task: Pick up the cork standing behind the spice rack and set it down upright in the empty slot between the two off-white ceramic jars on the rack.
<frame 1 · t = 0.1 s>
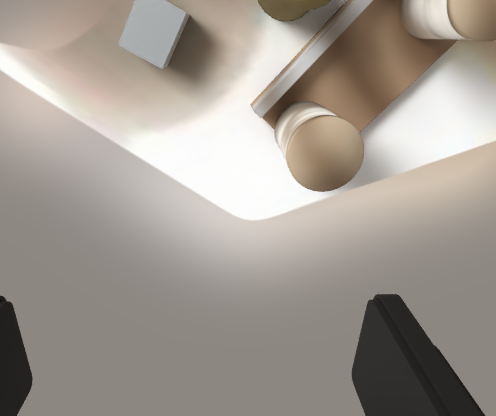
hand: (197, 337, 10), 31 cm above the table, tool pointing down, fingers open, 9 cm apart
rack: (355, 65, 37), on the table
grey rectangular block: (159, 29, 35), on the table
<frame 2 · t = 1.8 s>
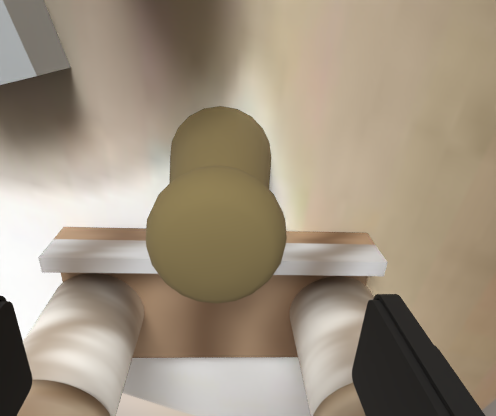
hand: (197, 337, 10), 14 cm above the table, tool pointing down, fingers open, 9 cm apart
cork: (221, 156, 22), on the table
rack: (218, 290, 26), on the table
grey rectangular block: (8, 37, 19), on the table
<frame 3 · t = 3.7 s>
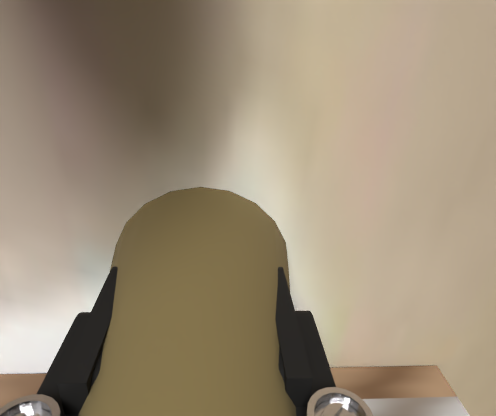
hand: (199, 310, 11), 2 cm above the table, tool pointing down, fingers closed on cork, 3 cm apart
cork: (203, 263, 13), on the table, touching gripper
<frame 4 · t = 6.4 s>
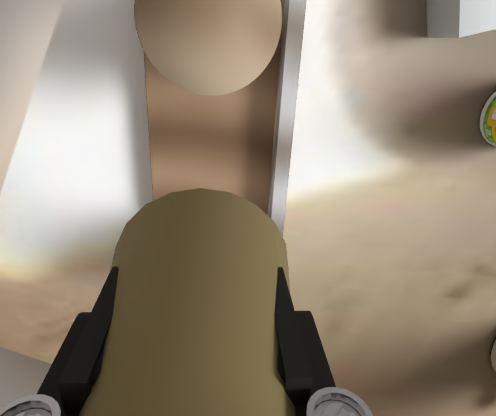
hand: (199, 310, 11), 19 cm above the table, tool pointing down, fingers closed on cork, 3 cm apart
cork: (203, 264, 13), point 17 cm above the table, touching gripper
rack: (219, 141, 28), on the table
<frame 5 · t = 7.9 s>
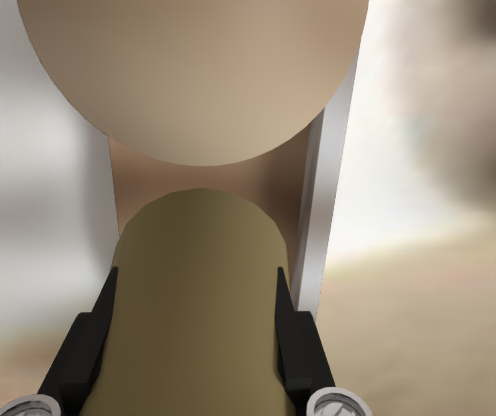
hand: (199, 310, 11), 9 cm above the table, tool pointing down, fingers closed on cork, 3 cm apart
cork: (203, 264, 13), point 7 cm above the table, touching gripper
rack: (220, 192, 19), on the table
when the fingers open (5 cm above the table, at t = 9.2 s): cork stays where it is, resting on rack.
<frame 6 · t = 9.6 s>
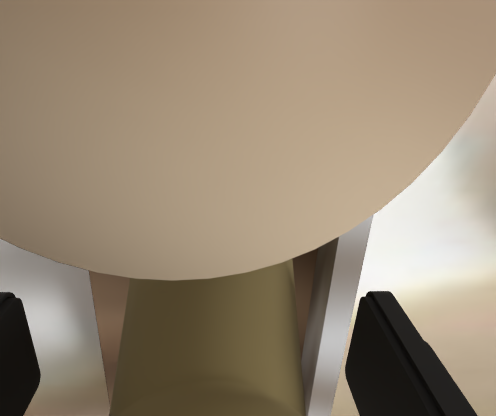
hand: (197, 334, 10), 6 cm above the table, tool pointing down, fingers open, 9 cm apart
cork: (214, 247, 15), point 1 cm above the table, touching rack
rack: (217, 227, 16), on the table
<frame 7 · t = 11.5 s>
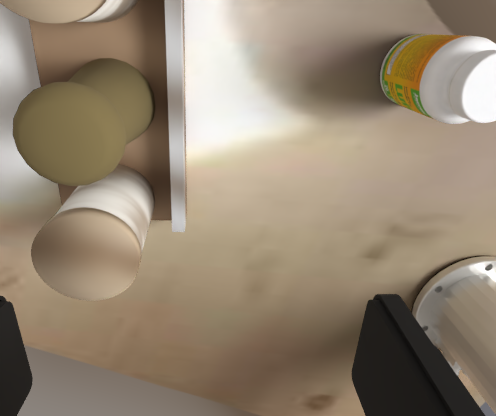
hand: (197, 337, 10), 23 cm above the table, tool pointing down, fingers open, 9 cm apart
cork: (114, 101, 27), point 1 cm above the table, touching rack
rack: (119, 95, 28), on the table
supplement bottle: (409, 70, 30), on the table
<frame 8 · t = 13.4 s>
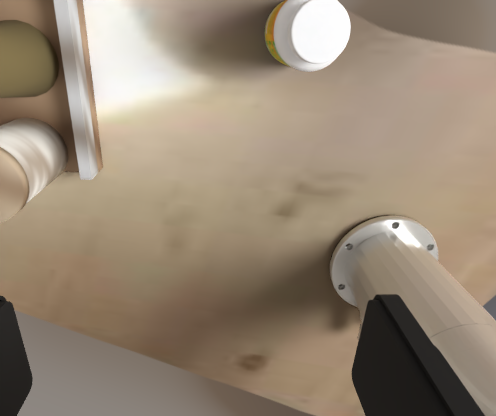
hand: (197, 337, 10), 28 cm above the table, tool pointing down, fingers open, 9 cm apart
cork: (22, 59, 31), point 1 cm above the table, touching rack
rack: (30, 56, 32), on the table
supplement bottle: (293, 33, 33), on the table
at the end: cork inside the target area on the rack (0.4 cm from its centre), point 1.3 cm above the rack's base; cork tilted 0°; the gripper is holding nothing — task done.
